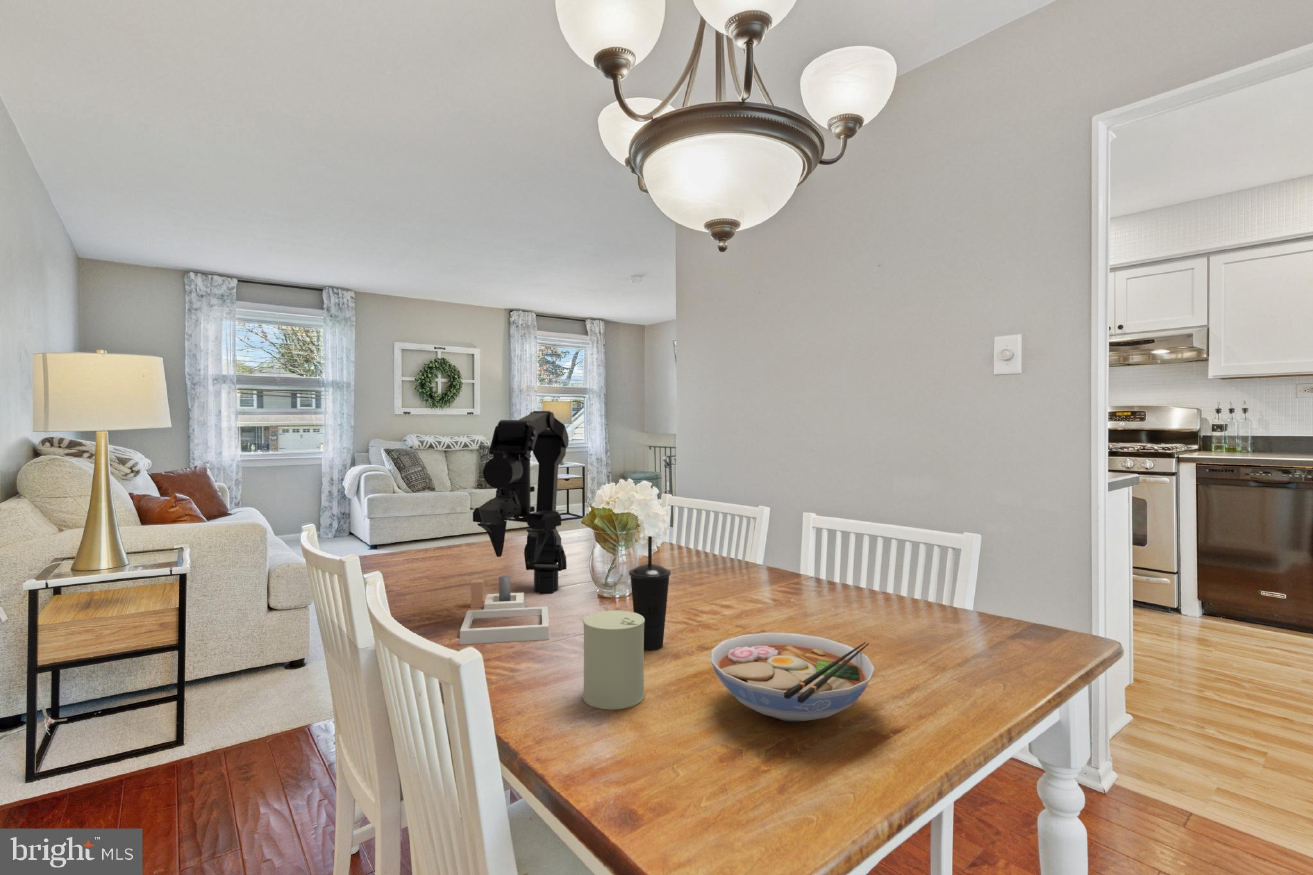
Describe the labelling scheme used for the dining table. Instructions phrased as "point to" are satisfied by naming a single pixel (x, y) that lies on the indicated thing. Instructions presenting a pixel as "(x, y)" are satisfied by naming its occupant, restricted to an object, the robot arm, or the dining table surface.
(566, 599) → the dining table surface
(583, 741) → the dining table surface
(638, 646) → the can
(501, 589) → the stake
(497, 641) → the tray
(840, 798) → the dining table surface
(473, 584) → the ring
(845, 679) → the ramen bowl
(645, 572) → the drinking cup
